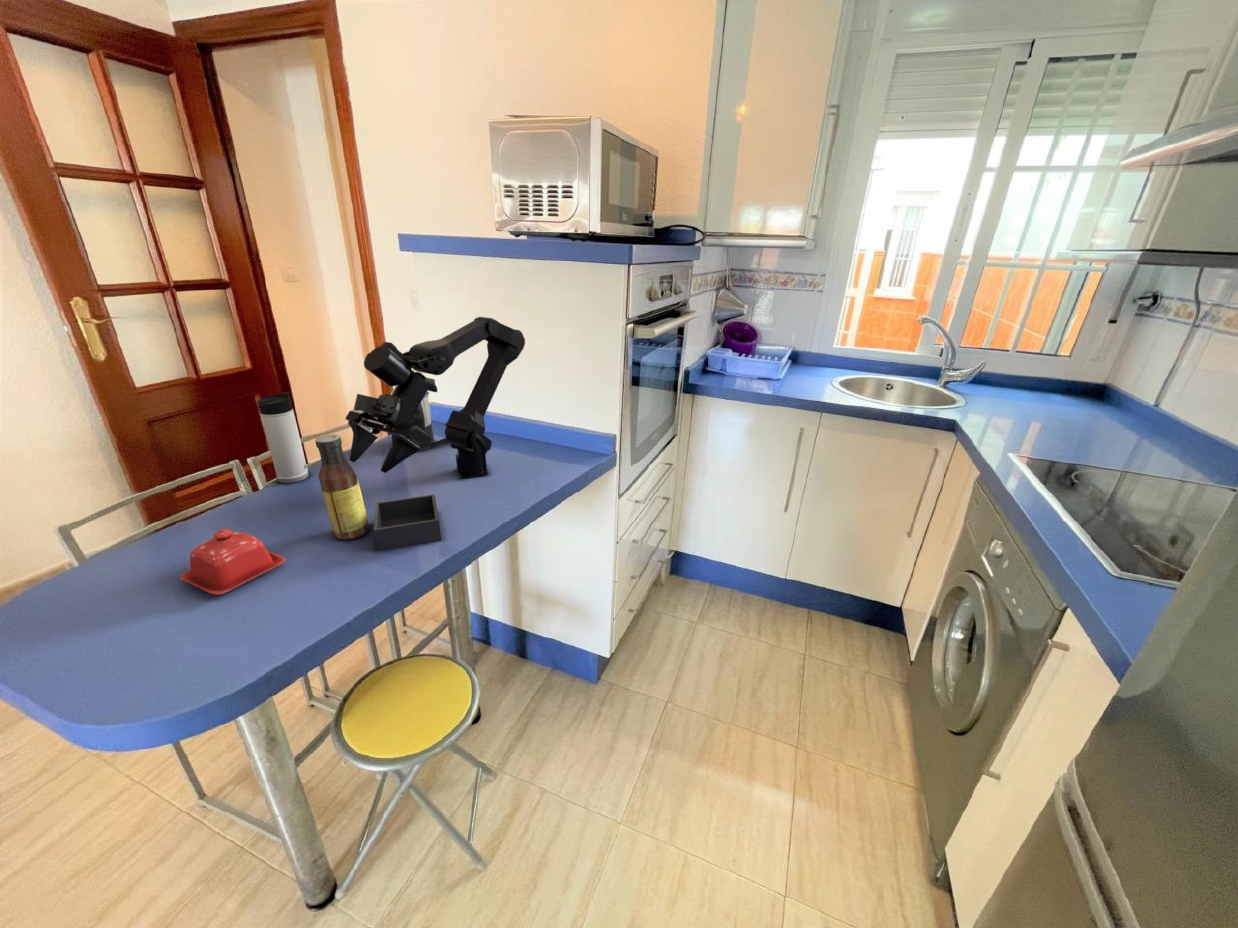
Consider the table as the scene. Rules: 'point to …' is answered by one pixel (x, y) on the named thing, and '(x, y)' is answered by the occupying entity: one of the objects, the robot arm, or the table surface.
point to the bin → (406, 522)
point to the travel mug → (283, 437)
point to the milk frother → (425, 420)
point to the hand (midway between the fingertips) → (366, 466)
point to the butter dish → (229, 562)
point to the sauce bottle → (341, 490)
